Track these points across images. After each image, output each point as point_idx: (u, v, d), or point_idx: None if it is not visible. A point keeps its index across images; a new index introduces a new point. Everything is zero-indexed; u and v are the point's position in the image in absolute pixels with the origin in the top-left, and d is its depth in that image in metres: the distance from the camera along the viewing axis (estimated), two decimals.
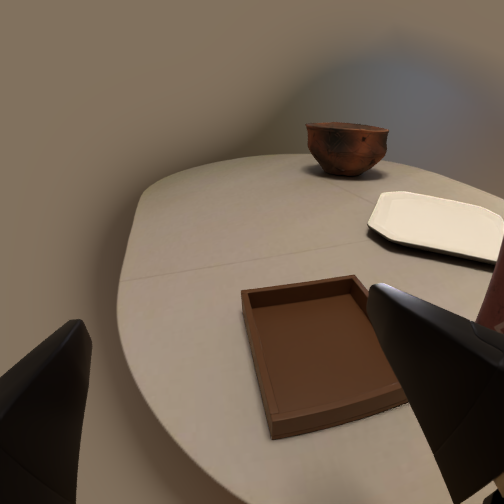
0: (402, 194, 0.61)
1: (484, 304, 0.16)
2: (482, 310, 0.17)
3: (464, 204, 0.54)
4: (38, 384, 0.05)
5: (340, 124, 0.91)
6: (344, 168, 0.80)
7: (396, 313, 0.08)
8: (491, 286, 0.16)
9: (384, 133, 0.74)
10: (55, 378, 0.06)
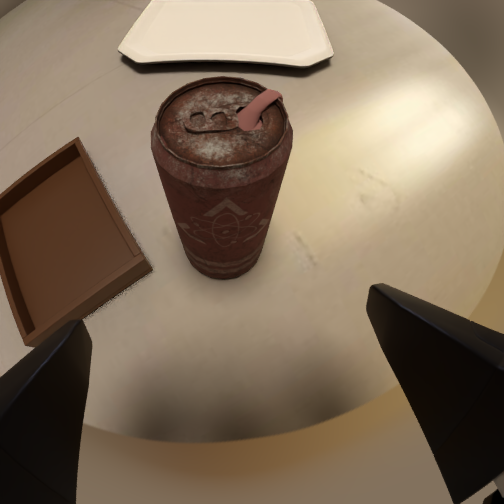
0: None
1: None
2: None
3: None
4: (38, 384, 0.05)
5: None
6: None
7: (396, 313, 0.08)
8: None
9: None
10: (55, 378, 0.06)
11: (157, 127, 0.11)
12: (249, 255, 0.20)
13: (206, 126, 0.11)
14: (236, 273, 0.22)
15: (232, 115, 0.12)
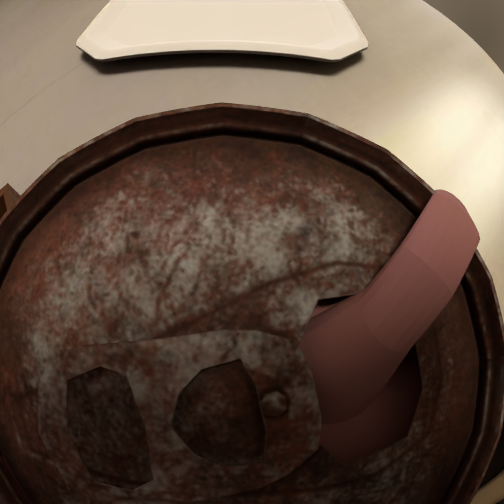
0: None
1: None
2: None
3: None
4: None
5: None
6: None
7: None
8: None
9: None
10: None
11: None
12: None
13: (160, 482, 0.02)
14: None
15: (285, 375, 0.02)
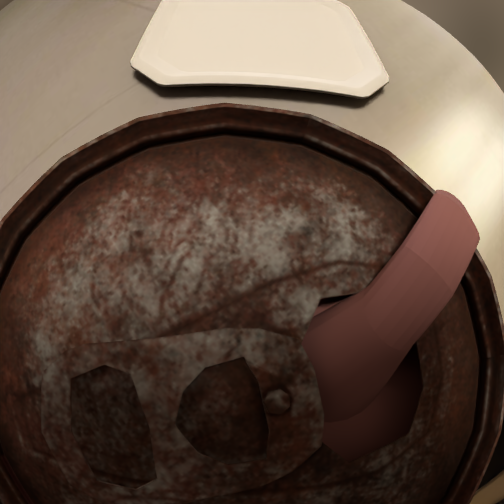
0: None
1: None
2: None
3: None
4: None
5: None
6: None
7: None
8: None
9: None
10: None
11: None
12: None
13: (164, 480, 0.02)
14: None
15: (287, 372, 0.02)
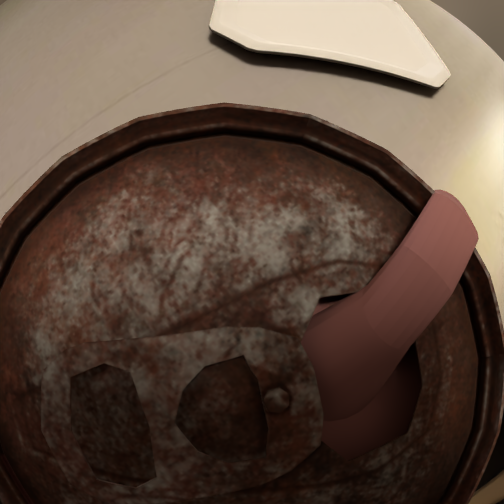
0: None
1: None
2: None
3: None
4: None
5: None
6: None
7: None
8: None
9: None
10: None
11: None
12: None
13: (163, 479, 0.02)
14: None
15: (287, 371, 0.02)
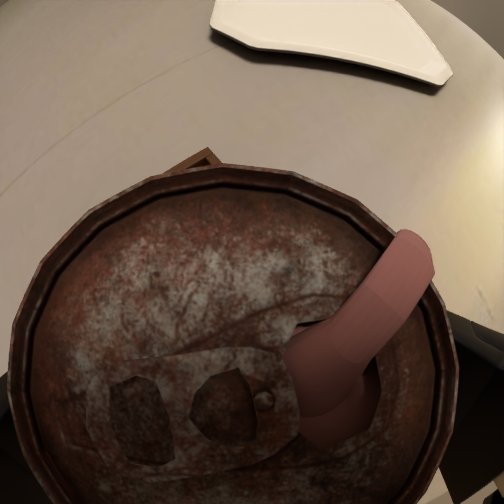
0: None
1: None
2: None
3: None
4: None
5: None
6: None
7: None
8: None
9: None
10: None
11: (24, 430, 0.02)
12: None
13: (180, 460, 0.03)
14: None
15: (271, 379, 0.03)
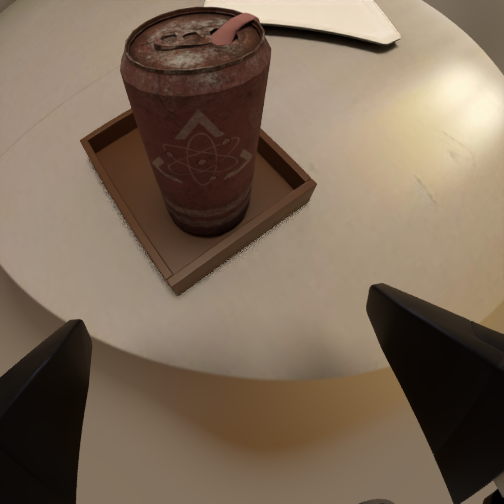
0: None
1: None
2: None
3: None
4: (38, 384, 0.05)
5: None
6: None
7: (396, 313, 0.08)
8: None
9: None
10: (55, 378, 0.06)
11: (126, 48, 0.09)
12: (233, 202, 0.18)
13: (177, 42, 0.09)
14: (221, 227, 0.20)
15: (205, 35, 0.10)
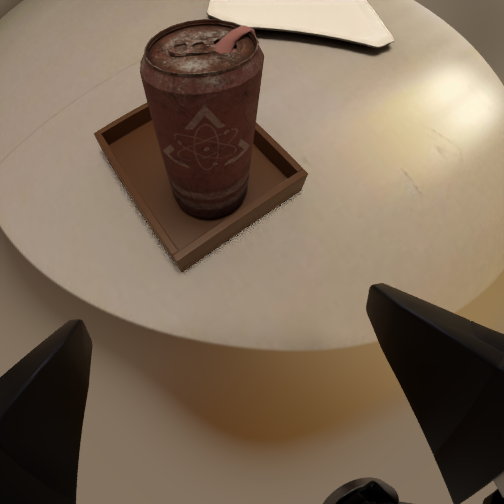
0: None
1: None
2: None
3: None
4: (38, 384, 0.05)
5: None
6: None
7: (396, 313, 0.08)
8: None
9: None
10: (55, 378, 0.06)
11: (146, 54, 0.11)
12: (232, 186, 0.20)
13: (187, 50, 0.12)
14: (222, 210, 0.23)
15: (210, 44, 0.12)
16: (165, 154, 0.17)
